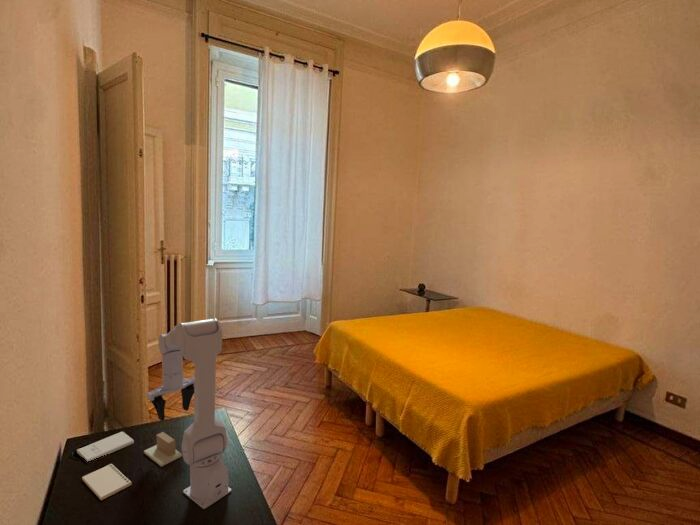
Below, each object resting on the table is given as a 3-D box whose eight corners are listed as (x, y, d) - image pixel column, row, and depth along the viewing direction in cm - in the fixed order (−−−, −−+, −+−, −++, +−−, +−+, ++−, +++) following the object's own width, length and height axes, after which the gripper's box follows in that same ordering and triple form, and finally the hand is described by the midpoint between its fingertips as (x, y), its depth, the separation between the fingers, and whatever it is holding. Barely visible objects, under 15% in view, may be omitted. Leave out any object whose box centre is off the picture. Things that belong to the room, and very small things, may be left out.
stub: (181, 456, 109) (181, 440, 109) (161, 466, 104) (160, 450, 104) (164, 443, 115) (163, 428, 114) (144, 453, 110) (143, 437, 110)
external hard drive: (134, 445, 115) (87, 465, 105) (122, 435, 120) (76, 453, 110) (134, 440, 115) (87, 459, 105) (122, 430, 120) (76, 448, 110)
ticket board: (131, 484, 97) (131, 481, 97) (101, 500, 91) (100, 497, 91) (111, 466, 104) (111, 463, 104) (82, 479, 98) (82, 476, 98)
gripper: (187, 361, 121) (188, 401, 123) (141, 375, 110) (143, 419, 111) (200, 367, 117) (201, 408, 119) (153, 382, 106) (154, 427, 107)
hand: (173, 414), depth 115 cm, fingers open, 7 cm apart
